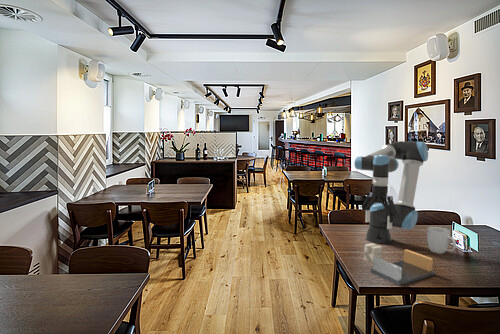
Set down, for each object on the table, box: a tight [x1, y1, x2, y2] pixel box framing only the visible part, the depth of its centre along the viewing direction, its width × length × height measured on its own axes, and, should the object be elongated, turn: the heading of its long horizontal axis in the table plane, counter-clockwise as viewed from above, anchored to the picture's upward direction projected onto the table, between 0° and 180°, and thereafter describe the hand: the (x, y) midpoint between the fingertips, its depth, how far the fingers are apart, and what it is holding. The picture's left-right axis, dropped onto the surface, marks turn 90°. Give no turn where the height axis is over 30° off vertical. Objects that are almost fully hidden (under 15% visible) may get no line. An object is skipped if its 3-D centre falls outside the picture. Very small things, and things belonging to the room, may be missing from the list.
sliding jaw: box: [403, 249, 434, 272], centre depth 158 cm, size 14×2×6 cm, turn 27°
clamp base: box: [370, 257, 436, 287], centre depth 153 cm, size 16×25×8 cm, turn 117°
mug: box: [426, 226, 457, 255], centre depth 180 cm, size 15×11×13 cm
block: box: [363, 242, 383, 264], centre depth 169 cm, size 6×6×8 cm
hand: (378, 225), depth 167 cm, fingers open, 13 cm apart
